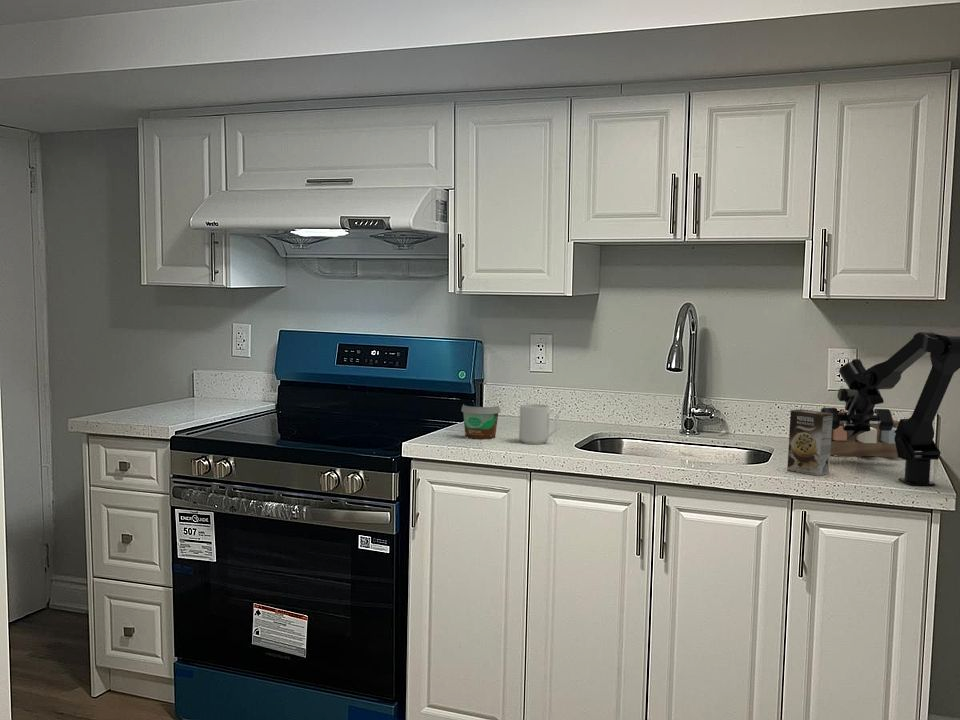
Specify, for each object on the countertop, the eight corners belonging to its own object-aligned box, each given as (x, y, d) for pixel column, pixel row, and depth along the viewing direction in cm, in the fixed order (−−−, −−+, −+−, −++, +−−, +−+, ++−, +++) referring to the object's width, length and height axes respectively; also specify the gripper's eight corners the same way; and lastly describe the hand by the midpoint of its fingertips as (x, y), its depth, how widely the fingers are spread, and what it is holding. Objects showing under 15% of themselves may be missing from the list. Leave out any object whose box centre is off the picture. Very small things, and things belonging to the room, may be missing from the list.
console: (899, 457, 274) (901, 422, 273) (824, 455, 273) (826, 420, 272) (881, 450, 285) (883, 416, 285) (809, 448, 285) (810, 414, 284)
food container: (456, 438, 288) (457, 406, 287) (460, 435, 294) (461, 403, 293) (496, 440, 286) (497, 408, 285) (499, 437, 292) (500, 405, 291)
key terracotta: (846, 440, 272) (847, 426, 271) (834, 440, 272) (835, 426, 271) (838, 437, 278) (839, 423, 277) (826, 437, 277) (827, 423, 277)
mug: (514, 443, 283) (515, 406, 282) (525, 439, 291) (526, 403, 290) (552, 446, 278) (553, 409, 277) (562, 442, 286) (563, 406, 285)
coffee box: (786, 470, 249) (789, 410, 248) (797, 468, 253) (800, 408, 252) (819, 476, 242) (822, 414, 241) (830, 473, 247) (833, 412, 246)
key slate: (900, 443, 268) (901, 429, 268) (888, 443, 268) (889, 429, 268) (891, 440, 274) (892, 426, 274) (879, 440, 274) (880, 426, 274)
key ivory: (876, 443, 268) (877, 429, 268) (864, 443, 268) (865, 429, 268) (867, 439, 274) (868, 426, 274) (855, 439, 274) (856, 425, 274)
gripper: (892, 380, 260) (875, 415, 272) (823, 378, 261) (809, 413, 273) (901, 412, 253) (884, 446, 264) (831, 410, 254) (817, 444, 265)
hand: (848, 436), depth 267 cm, fingers closed
